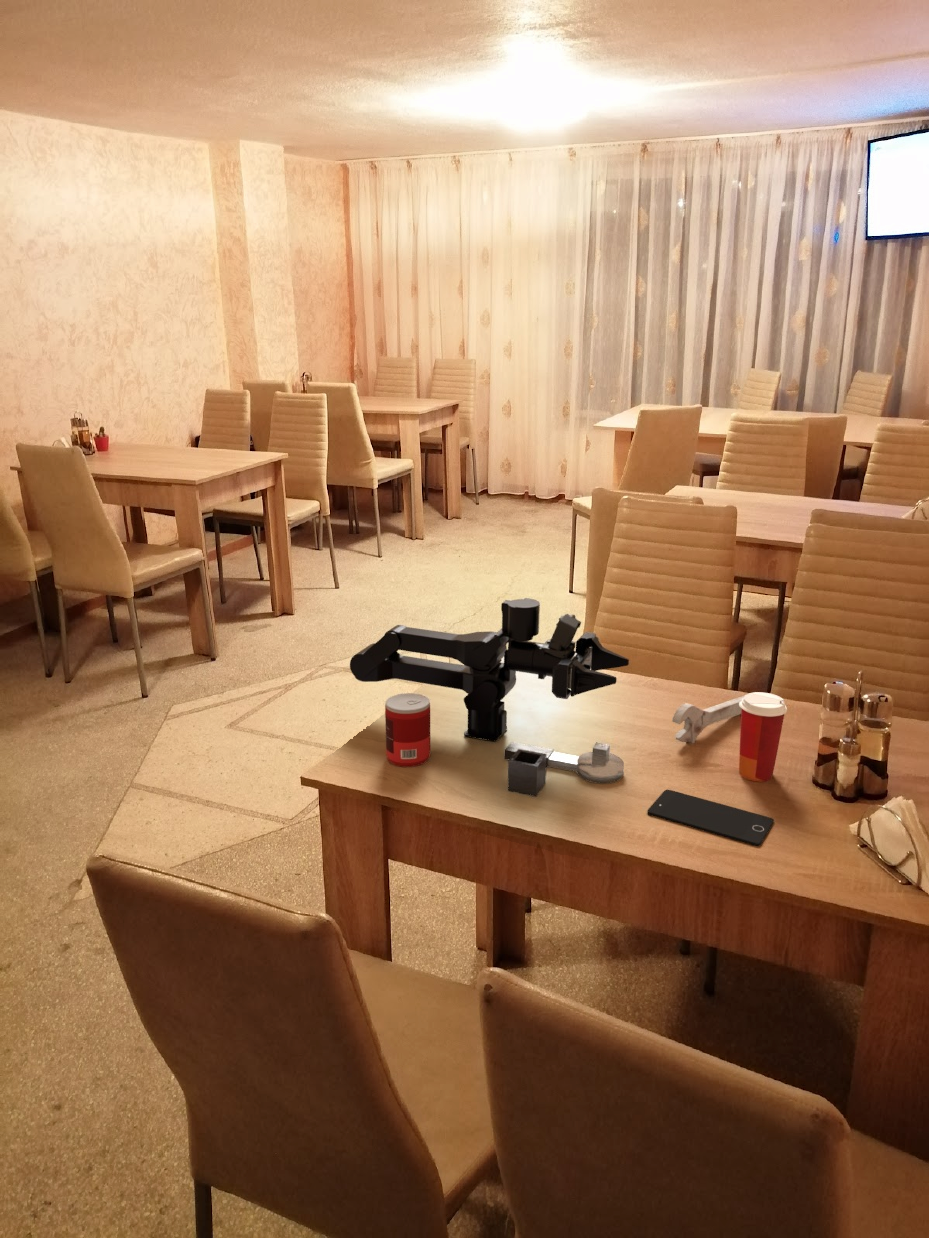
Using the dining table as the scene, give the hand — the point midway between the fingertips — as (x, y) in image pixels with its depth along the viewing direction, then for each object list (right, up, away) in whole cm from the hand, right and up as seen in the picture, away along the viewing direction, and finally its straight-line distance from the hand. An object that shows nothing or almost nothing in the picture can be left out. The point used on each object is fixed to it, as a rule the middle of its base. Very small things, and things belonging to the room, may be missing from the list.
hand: (622, 671), depth 164 cm
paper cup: (+23, -18, 0) cm, 29 cm away
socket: (-17, -19, -6) cm, 26 cm away
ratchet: (-10, -17, +2) cm, 20 cm away
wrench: (+21, -12, +18) cm, 30 cm away
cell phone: (+11, -23, -14) cm, 30 cm away
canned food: (-38, -16, +5) cm, 41 cm away
